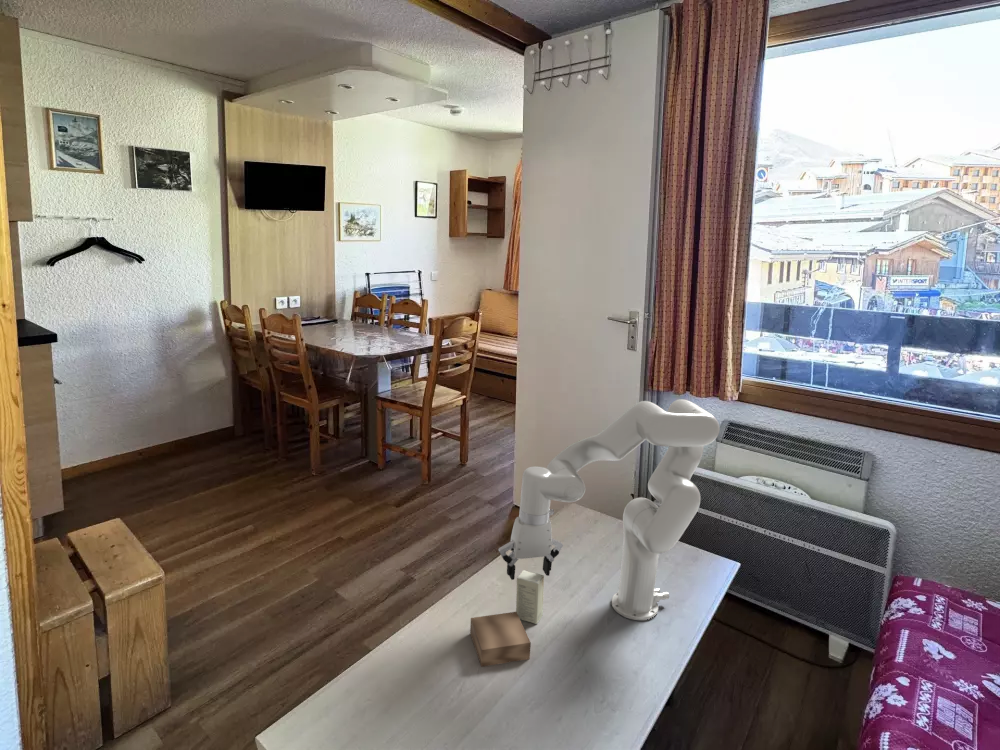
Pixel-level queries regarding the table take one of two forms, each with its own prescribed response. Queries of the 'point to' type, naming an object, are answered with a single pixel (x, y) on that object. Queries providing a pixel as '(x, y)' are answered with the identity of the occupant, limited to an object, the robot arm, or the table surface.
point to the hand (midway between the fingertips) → (528, 574)
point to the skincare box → (530, 596)
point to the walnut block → (499, 639)
